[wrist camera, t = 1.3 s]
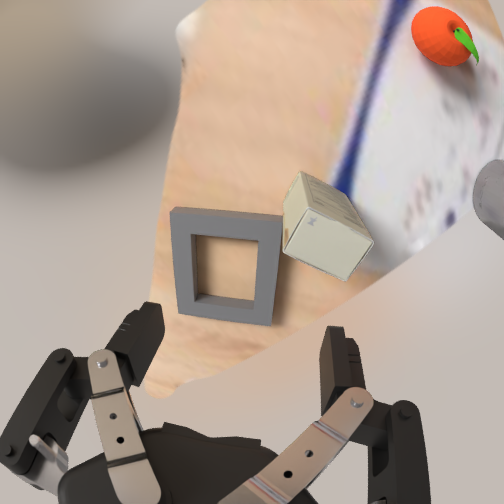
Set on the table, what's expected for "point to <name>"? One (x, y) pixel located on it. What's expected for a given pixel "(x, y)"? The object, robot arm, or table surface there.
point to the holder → (229, 226)
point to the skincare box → (323, 228)
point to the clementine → (442, 36)
